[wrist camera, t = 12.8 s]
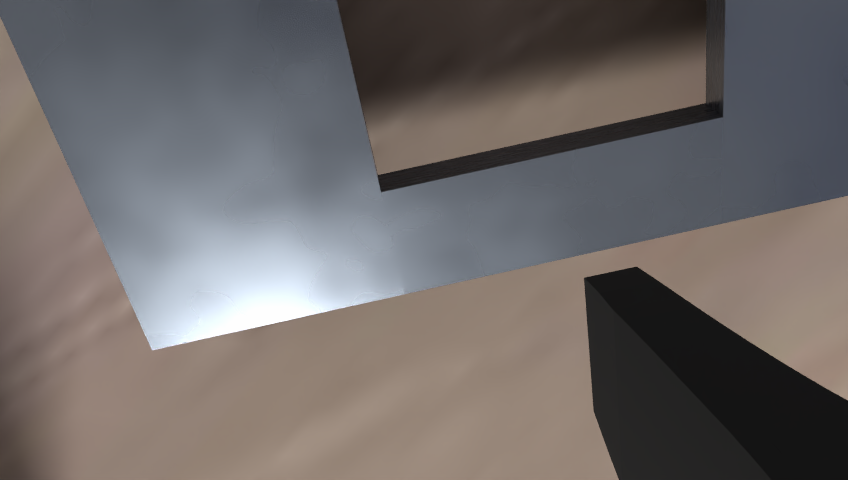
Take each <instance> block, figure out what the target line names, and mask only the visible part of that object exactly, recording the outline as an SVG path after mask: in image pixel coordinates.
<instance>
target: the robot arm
mask: <svg viewBox="0 0 848 480" xmlns="http://www.w3.org/2000/svg"><path fill="white" fill-rule="evenodd" d="M584 283H585V297H586V311H587V325H588V338H589V352H590V366H591V379H592V393H593V407H594V413H595V416H596V419H597V421H598V424H599V427H600V430H601V433H602V435H603V438H604V441H605V444H606V446H607V449H608V452H609V455H610V457H611V460H612V463H613V465H614V468H615V470H616V473H617V476H618V478H619V480H848V400H846V399H844V398H842V397H840V396H839V395H837V394H835V393H833V392H831V391H829V390H828V389H826V388H824V387H823V386H821V385H819V384H817V383H816V382H814V381H812V380H811V379H809V378H807V377H806V376H804V375H802V374H800V373H799V372H797V371H795V370H794V369H792V368H790V367H789V366H787V365H786V364H784V363H782V362H781V361H779V360H777V359H776V358H774V357H773V356H771V355H769V354H768V353H766V352H765V351H763V350H761V349H760V348H758V347H757V346H755V345H753V344H752V343H750V342H749V341H747V340H746V339H744V338H742V337H741V336H739V335H738V334H736V333H735V332H733V331H732V330H730V329H729V328H727V327H725V326H724V325H722V324H721V323H719V322H718V321H716V320H715V319H713V318H712V317H710V316H709V315H707V314H706V313H704V312H703V311H701V310H700V309H699V308H697V307H696V306H694V305H693V304H691V303H690V302H688V301H687V300H685V299H684V298H682V297H681V296H679V295H678V294H676V293H675V292H674V291H672V290H671V289H669V288H668V287H666V286H665V285H663V284H662V283H660V282H659V281H657V280H656V279H654V278H653V277H651V276H650V275H649V274H647V273H645V272H644V271H642V270H641V269H639V268H638V267H633V268H628V269H623V270H619V271H614V272H609V273H605V274H600V275H595V276H591V277H586V278H584Z"/></svg>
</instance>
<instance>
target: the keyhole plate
mask: <svg viewBox="0 0 848 480" xmlns="http://www.w3.org/2000/svg"><path fill="white" fill-rule="evenodd" d="M0 17H1V19H2V21H3V23H4V26H5V28H6V30H7V32H8V34H9V37H10V39H11V41H12V43H13V45H14V48H15V50H16V52H17V54H18V56H19V59H20V61H21V63H22V65H23V67H24V70H25V72H26V74H27V76H28V78H29V81H30V83H31V85H32V87H33V89H34V92H35V94H36V96H37V98H38V100H39V102H40V105H41V107H42V109H43V111H44V113H45V116H46V118H47V120H48V122H49V124H50V127H51V129H52V131H53V133H54V135H55V138H56V140H57V142H58V144H59V146H60V149H61V151H62V153H63V155H64V157H65V160H66V162H67V164H68V166H69V168H70V171H71V173H72V175H73V177H74V179H75V182H76V184H77V186H78V188H79V190H80V193H81V195H82V197H83V199H84V201H85V204H86V206H87V208H88V210H89V212H90V215H91V217H92V219H93V221H94V223H95V225H96V228H97V230H98V232H99V234H100V236H101V239H102V241H103V243H104V245H105V247H106V250H107V252H108V254H109V256H110V258H111V261H112V263H113V265H114V267H115V269H116V272H117V274H118V276H119V278H120V280H121V283H122V285H123V287H124V289H125V291H126V294H127V296H128V298H129V300H130V302H131V305H132V307H133V309H134V311H135V313H136V316H137V318H138V320H139V322H140V324H141V327H142V329H143V331H144V333H145V335H146V338H147V340H148V342H149V344H150V346H151V348H152V350H156V349H160V348H165V347H169V346H174V345H178V344H183V343H187V342H192V341H196V340H201V339H205V338H210V337H214V336H219V335H223V334H228V333H232V332H237V331H241V330H246V329H250V328H254V327H259V326H263V325H268V324H272V323H277V322H281V321H286V320H290V319H295V318H299V317H304V316H308V315H313V314H317V313H322V312H326V311H331V310H335V309H340V308H344V307H349V306H353V305H358V304H362V303H367V302H371V301H376V300H380V299H385V298H389V297H394V296H398V295H403V294H407V293H412V292H416V291H421V290H425V289H430V288H434V287H439V286H443V285H448V284H452V283H457V282H461V281H466V280H470V279H475V278H479V277H484V276H488V275H493V274H497V273H502V272H506V271H511V270H515V269H520V268H524V267H529V266H533V265H538V264H542V263H547V262H551V261H556V260H560V259H565V258H569V257H574V256H578V255H583V254H587V253H592V252H596V251H601V250H605V249H610V248H614V247H619V246H623V245H628V244H632V243H637V242H641V241H646V240H650V239H655V238H659V237H664V236H668V235H673V234H677V233H682V232H686V231H691V230H695V229H700V228H704V227H709V226H713V225H718V224H722V223H727V222H731V221H736V220H740V219H745V218H749V217H754V216H758V215H763V214H767V213H772V212H776V211H781V210H785V209H790V208H794V207H799V206H803V205H808V204H812V203H817V202H821V201H826V200H830V199H835V198H839V197H844V196H848V0H707V24H706V103H705V104H700V105H696V106H691V107H687V108H682V109H678V110H673V111H668V112H664V113H659V114H655V115H650V116H646V117H641V118H637V119H632V120H627V121H623V122H618V123H614V124H609V125H605V126H600V127H595V128H591V129H586V130H582V131H577V132H573V133H568V134H564V135H559V136H554V137H550V138H545V139H541V140H536V141H532V142H527V143H522V144H518V145H513V146H509V147H504V148H500V149H495V150H490V151H486V152H481V153H477V154H472V155H468V156H463V157H459V158H454V159H449V160H445V161H440V162H436V163H431V164H427V165H422V166H417V167H413V168H408V169H404V170H399V171H395V172H390V173H386V174H381V175H378V174H377V169H376V165H375V161H374V156H373V152H372V148H371V143H370V139H369V135H368V131H367V126H366V122H365V118H364V113H363V109H362V105H361V100H360V96H359V92H358V87H357V83H356V79H355V75H354V70H353V66H352V62H351V57H350V53H349V49H348V44H347V40H346V36H345V31H344V27H343V23H342V19H341V14H340V10H339V6H338V1H337V0H0Z"/></svg>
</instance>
